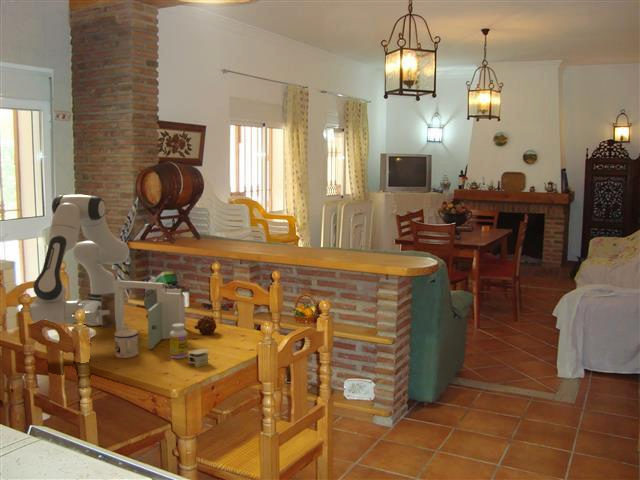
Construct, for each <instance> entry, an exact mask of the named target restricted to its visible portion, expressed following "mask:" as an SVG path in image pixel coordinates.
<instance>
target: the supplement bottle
mask: <svg viewBox="0 0 640 480" xmlns="http://www.w3.org/2000/svg"><path fill="white" fill-rule="evenodd" d="M172 328H173V331H171V333H170V339H169V346H170V347H169V349H170V350H169V351H170V353H169V354H170V357H171V358H172V359H175V360H176V359H177V360H179V359H185V358H187V357H188V355H189V353H188V351H189V350H188V331H186V330H185V329H186V324H185V325H184V324H182V323H177V324H173V325H172Z"/></svg>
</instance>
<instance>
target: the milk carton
mask: <svg viewBox="0 0 640 480" xmlns="http://www.w3.org/2000/svg"><path fill="white" fill-rule="evenodd" d="M166 293H181V319H182V324H184V325H185V326H186V303H185V302H186V301H185V298H186V297H185V295H184V293H183V292H182V289H181V288H166Z"/></svg>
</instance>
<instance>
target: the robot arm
mask: <svg viewBox="0 0 640 480" xmlns="http://www.w3.org/2000/svg"><path fill="white" fill-rule="evenodd" d="M51 210H52V214H53V217H52V221H51V225H50V229H49V237H48V248H47V252H46V256H45V259H44V263H43V266H42V270H41V272H40V273H39V275H38V276H37V278H36V279H35V280H34V283H33V292H34V294H35V296H36V297H35V299H34V300H33V301H32V303H31V304H29V315H30V316H29V317H30V318H31V321H32V322H34V324H37V323H36V322H38V321H40V320H42V319H47V320H48V321H52V322H56V324H60V323H61V324H78V323H77V322H76V320H75V312H76V311H78V310H84V311H85V320H84V321H85V322H86V324H88V325H87V326H91V327H94V326H95V327H96V326H102V315H108V314H110V310H109V309H105V310H102V306H101V295H105V294H113V295H114V304H115V287H114V281H116V277H115V275H114V274H113V273H112V272H111V271H109V270H107V269H106V268H104V266H103V264H108V265H109V264H111V265H115V264H121V263H124V262H126V261H127V260H128V258H129V256H130V248H129V246H128V244H127V243H126V242H125V241H122V239H119V238H118V237H117V236H116V235H114V233H112V232H111V230H110V228H109V226H108V223H107V220H106V216H105V213H106V204H105V201H104V200H103V198H102V197H100V196H97V195H87V194H86V195H85V194H59V195H57V196H55V198H53V200H52V202H51ZM80 229H81V230H82V234H83V236H84V237H85V239H87V240H84V241H79V242H78V238H79V234H80ZM70 250H72V254H73V257H74V259H75V260H76V262H78V264H80V265H81V266H82V267H83V268H84V269H85V271H86V272H87V275H88V276H89V277H88V278H89V284H90V292H89V293H87V294H86V295H85V298H88V299H87V300H85V299H84V300H82V299H80V298H79V299H74V300H66V295H67V287H66V285H65V284H64V283H63V281H62V279H61V269H62V265H63V262H64V257H65V255H66V253H67V252H68V251H70ZM115 323H116V310H115Z"/></svg>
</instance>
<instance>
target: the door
mask: <svg viewBox="0 0 640 480" xmlns="http://www.w3.org/2000/svg"><path fill="white" fill-rule="evenodd" d="M147 312H148V317H147V331H148V334H147V335H148V349H149V350H152V349H153V348H154V347H155V346H156V345H157V344H158V343H159V342H160V341H161V340H162V338H163V334H162V303H161V302H157V303H156V304H155V305H154V306H153V307H151V308H150V309H149V310H148V311H147Z"/></svg>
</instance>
